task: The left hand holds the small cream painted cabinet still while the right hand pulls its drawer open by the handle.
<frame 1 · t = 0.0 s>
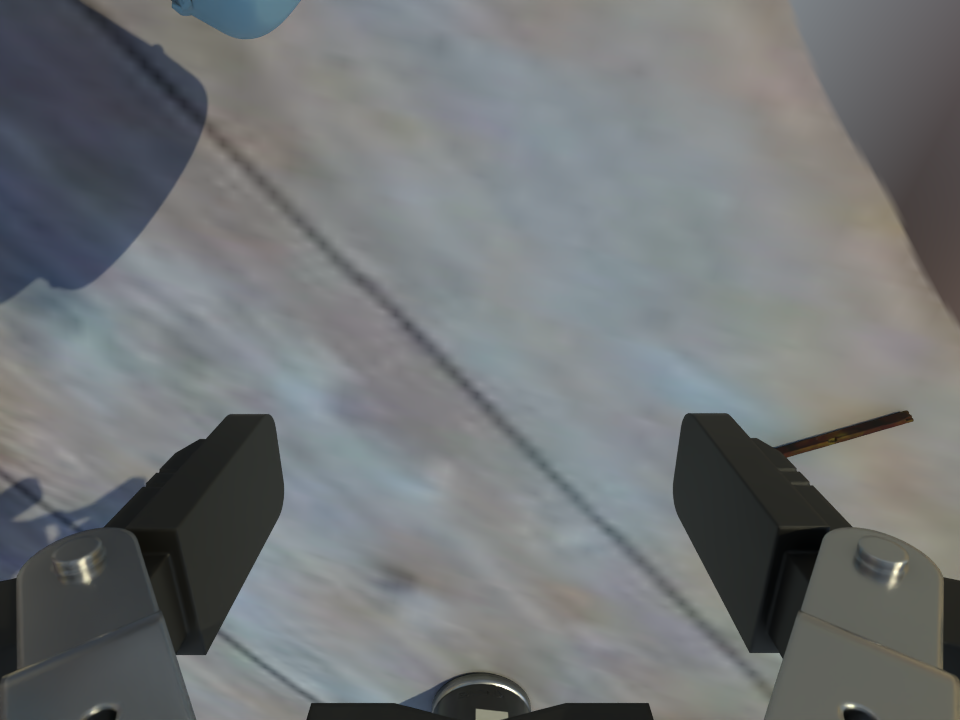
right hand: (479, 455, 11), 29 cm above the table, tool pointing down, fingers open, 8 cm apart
brown wooden stick: (804, 440, 44), on the table
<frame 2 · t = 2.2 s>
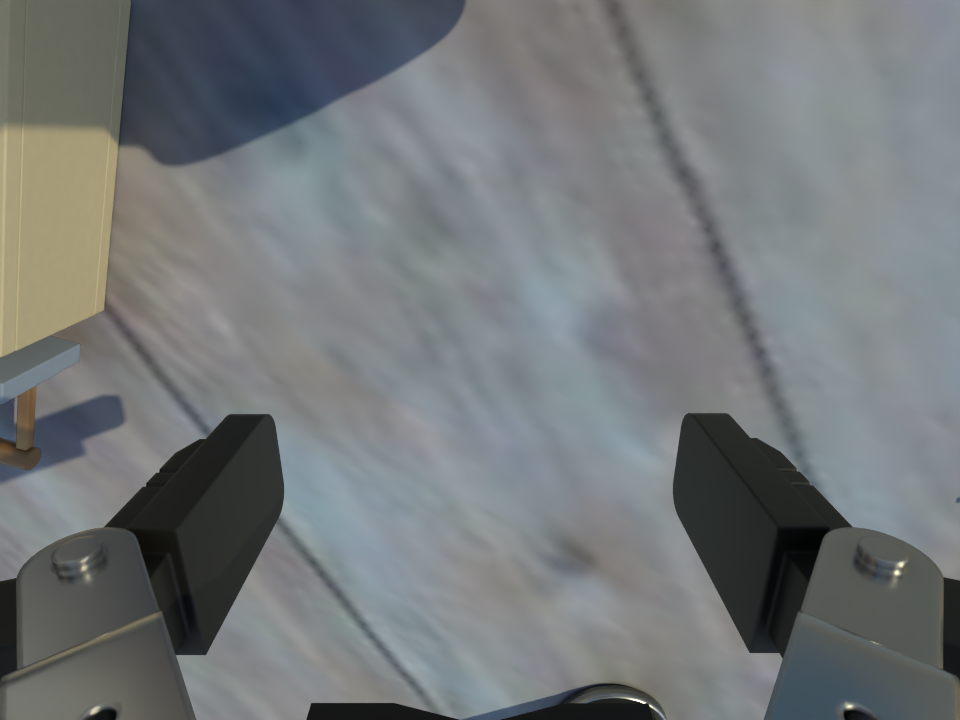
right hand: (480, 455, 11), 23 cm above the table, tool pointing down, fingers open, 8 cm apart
cabinet: (19, 138, 30), on the table
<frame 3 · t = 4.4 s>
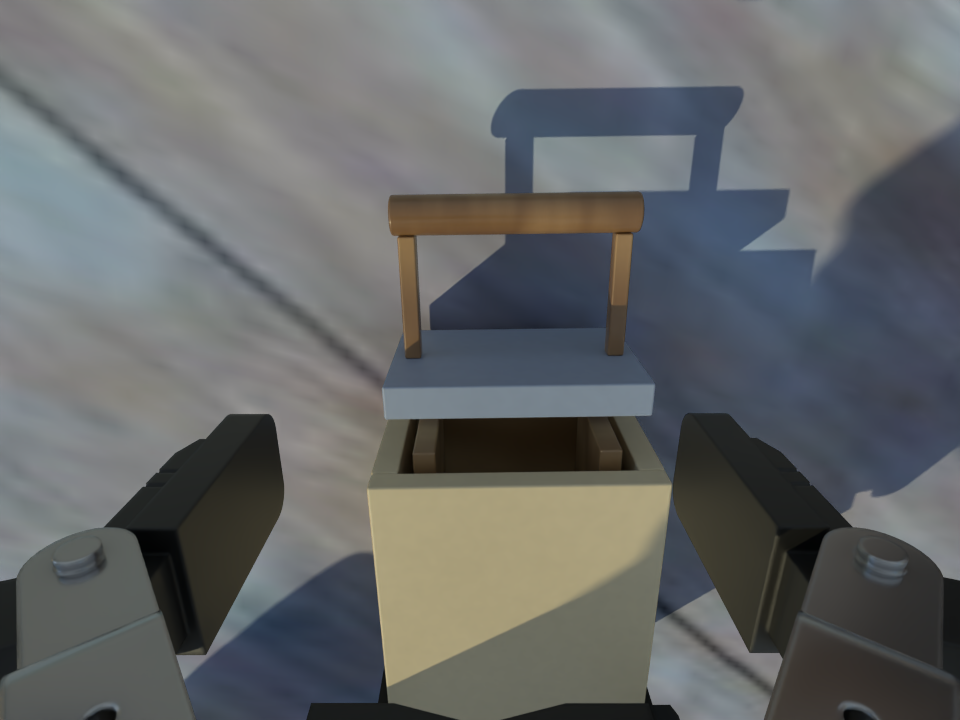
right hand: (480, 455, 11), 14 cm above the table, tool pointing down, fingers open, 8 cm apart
cabinet: (507, 537, 29), on the table, touching left hand
drawer: (512, 465, 23), point 4 cm above the table, slide at 2.0 cm
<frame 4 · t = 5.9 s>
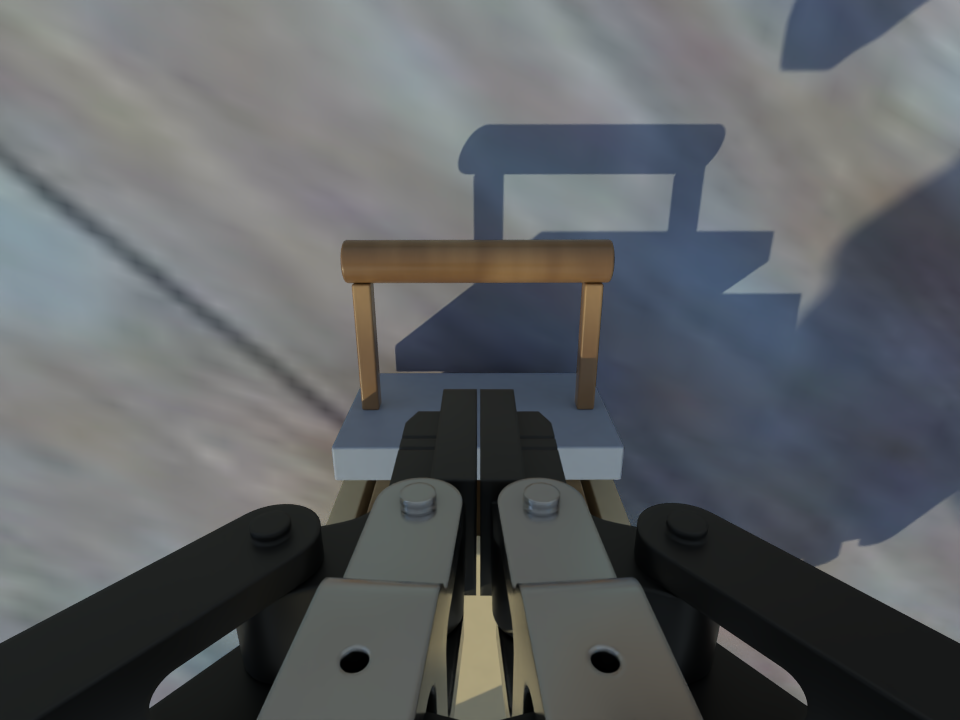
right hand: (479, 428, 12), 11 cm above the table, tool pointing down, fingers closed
cabinet: (478, 582, 28), on the table, touching left hand
drawer: (478, 518, 22), point 4 cm above the table, slide at 2.0 cm
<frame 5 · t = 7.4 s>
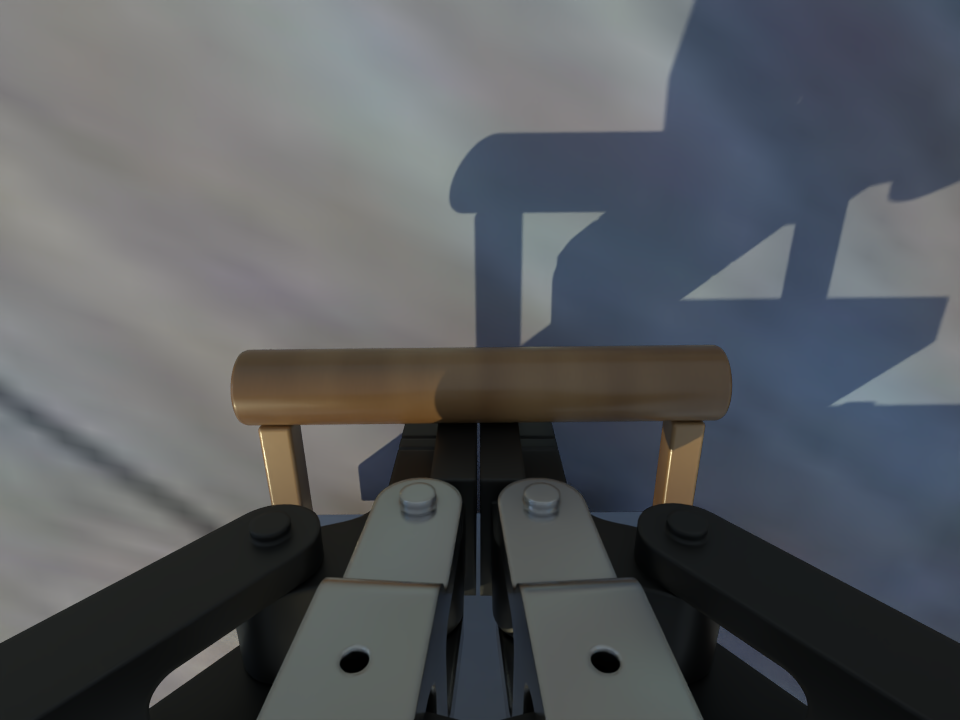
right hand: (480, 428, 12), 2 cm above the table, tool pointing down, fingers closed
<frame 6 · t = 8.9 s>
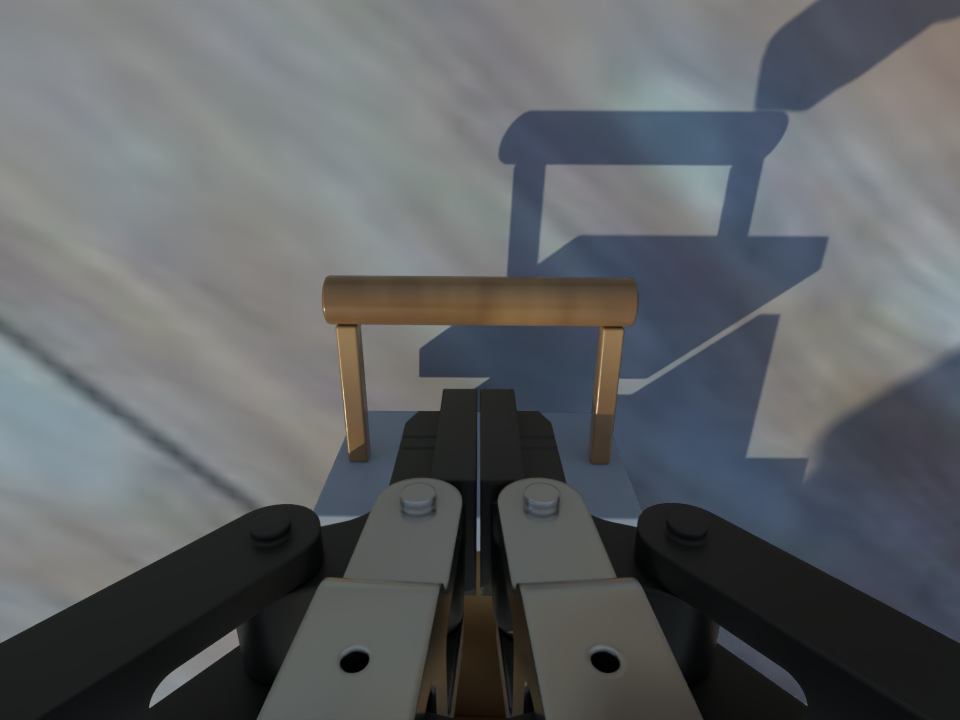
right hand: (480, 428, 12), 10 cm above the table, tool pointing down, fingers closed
drawer: (478, 574, 20), point 5 cm above the table, slide at 8.2 cm
when the left hand's fingers open (3 cm above the table, at t = 9.9 s): cabinet stays where it is, on the table.
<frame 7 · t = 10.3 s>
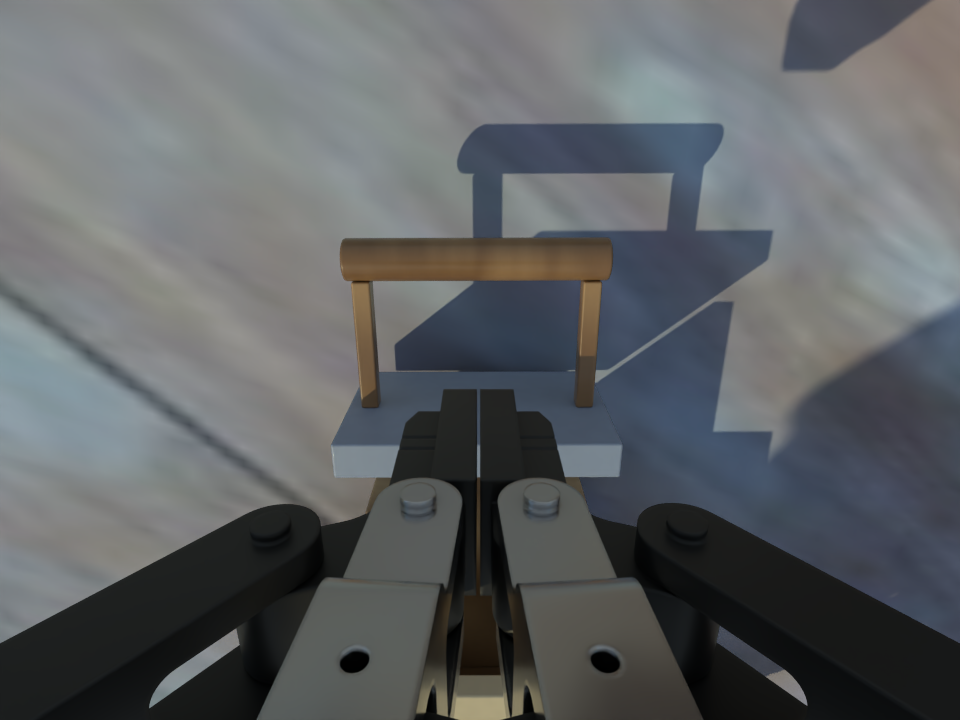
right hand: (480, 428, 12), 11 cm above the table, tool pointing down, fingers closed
cabinet: (479, 675, 30), on the table
drawer: (477, 516, 22), point 4 cm above the table, slide at 8.2 cm
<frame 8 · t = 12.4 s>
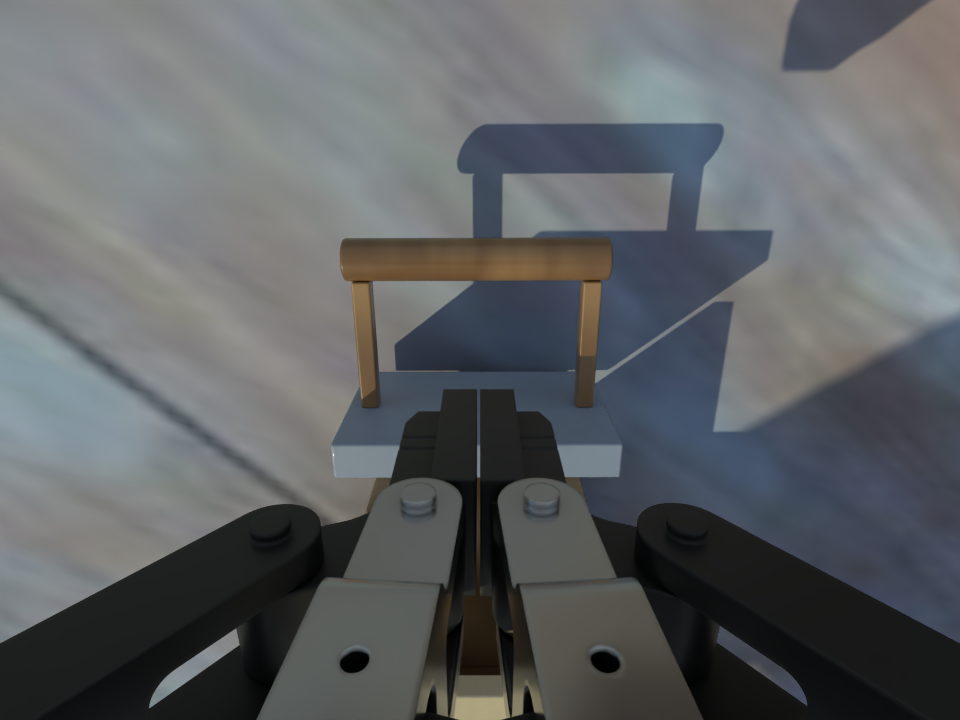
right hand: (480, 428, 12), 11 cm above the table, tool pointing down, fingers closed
cabinet: (479, 675, 30), on the table
drawer: (477, 517, 22), point 4 cm above the table, slide at 8.2 cm
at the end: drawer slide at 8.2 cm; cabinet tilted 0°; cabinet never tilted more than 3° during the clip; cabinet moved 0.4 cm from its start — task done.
